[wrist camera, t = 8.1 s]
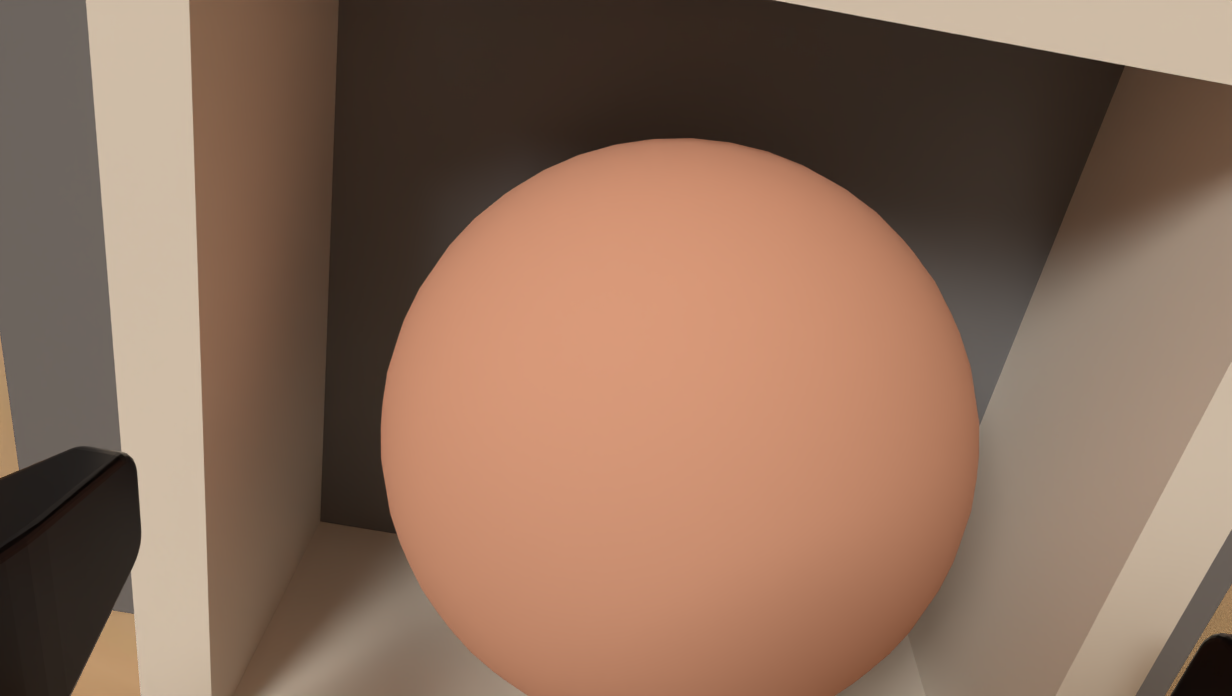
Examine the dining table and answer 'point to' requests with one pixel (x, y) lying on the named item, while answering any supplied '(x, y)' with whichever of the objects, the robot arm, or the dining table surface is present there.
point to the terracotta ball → (679, 429)
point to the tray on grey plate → (543, 137)
